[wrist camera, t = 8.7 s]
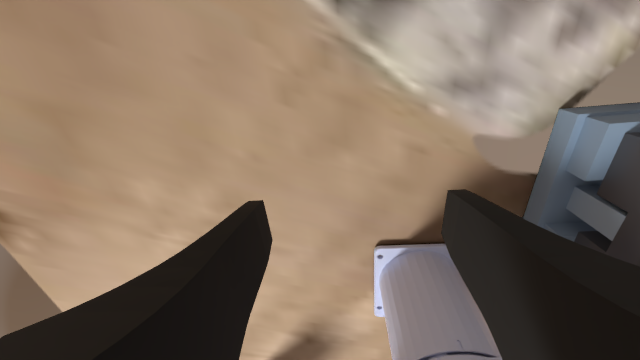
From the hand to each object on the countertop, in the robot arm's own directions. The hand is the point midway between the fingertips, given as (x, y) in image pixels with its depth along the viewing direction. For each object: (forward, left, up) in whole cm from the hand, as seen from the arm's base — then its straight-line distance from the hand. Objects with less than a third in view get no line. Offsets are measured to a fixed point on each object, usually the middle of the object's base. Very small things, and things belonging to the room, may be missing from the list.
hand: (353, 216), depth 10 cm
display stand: (-5, -17, -9) cm, 20 cm away
